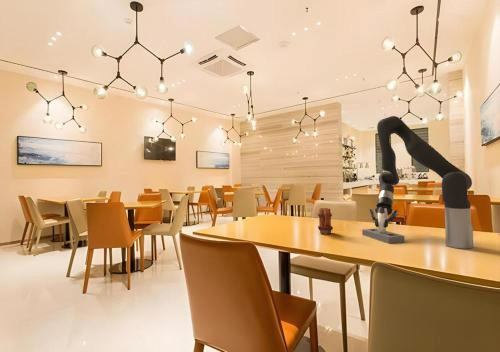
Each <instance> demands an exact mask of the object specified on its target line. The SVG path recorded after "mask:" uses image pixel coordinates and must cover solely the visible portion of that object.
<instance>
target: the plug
mask: <svg viewBox="0 0 500 352" xmlns="http://www.w3.org/2000/svg"><path fill="white" fill-rule="evenodd" d="M385 220H386V218H385V213H383V207H380V213H378V227H377V229H378V233H386V231H387V227H386V228H385V227H384V223H385Z"/></svg>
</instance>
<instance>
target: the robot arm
mask: <svg viewBox="0 0 500 352" xmlns="http://www.w3.org/2000/svg"><path fill="white" fill-rule="evenodd" d="M376 128H377V129H376V130H377V136H378V141H379V145H380V151H381V152H380V153H381V168H382V170H384V171H386V172H382V173H380V174H379V175H378V182H379V187H380V188H379V193H378V197H377V200H376V207H375V208H374V209H372V208H370V209H369V212H370V215H371V218H372V221H374V226H375V227H376V228H378V213H380V207H383V213H385V223H384V227H385V228H386V229H387V228H388V226H389V222H391V223H392V222H394V220H395V219H396V217H397V216H398V214H399V213H398V210H394V209H393V204H394V192H395V188H394V187H395V186H397V185H398V184H399V183H400V177H399V174H398V171H397V164H396V163H397V159H396V158H397V157H396V153H395V151H394V149H393V147H392V146H391V142H390V141H391V139H390V137H391V135H393V134H395V135H397V136H398V137H399V138H400V139H402V141H403V143H404V147H405V150H406V152H407V154H408V155H409V156H410V157H412V158H413V159H414V160H415V161H416V162H417V163H419V164H420V165H422V166H424V167H425V168H427V169H429V170H431V171H432V172H434V173H435V174H437V175H438V176H439V177H440V178H441V179H442V180H441V193H442V196H441V197H442V202H443V204H444V226H445V227H444V228H445V230H444V231H445V232H444V233H445V246H446V247H449V248H454V249H464V250H465V249H466V250H467V249H472V248H473V247H474V226H473V225H472V210H471V209H472V208H471V202H470V200H469V198H468V197H469V196H468V190H470V189H471V187H472V186H473V181H472V178H471V176H470V175H469V174H467V173H466V172H464V171H463V170H461V169H460V168H458V167H457V166H456V165H454V164H453V163H452V162H450V161H448V160H447V159H446V157H444V156H443V155H442V154H441V153H440V152H439V151H438V150H436V149H435V148H434V147H433V146H432V145H430V144H429V143H428V142H427V141H426V140H424V139H422V138H421V137H420V136H419V135H418V134H417V133H416V132H415V131H413V130H412V129H411V128H410V127H409V126H408V125H407V124H406V123H405V122H404V120H402V119H401V118H400V117H398V116H396V115H391V116H387V117H385V118H382V119H380V120H379V121H378V122H377V125H376ZM375 213H376V214H375Z"/></svg>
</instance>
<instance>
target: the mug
mask: <svg viewBox="0 0 500 352" xmlns="http://www.w3.org/2000/svg"><path fill="white" fill-rule="evenodd" d="M317 216H318V220H319V221H318V224H319V225H318V226H317V229H318V230H319V233H320V234H322V235H323V234H325V235H327V234H329V235H330V234H332V231H333V229H334V227H333V226H332V219H331V218H332V216H333V214H332V212H331V209H330V208H328V207H321V208H319V209H318V213H317Z"/></svg>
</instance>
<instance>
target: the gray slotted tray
mask: <svg viewBox="0 0 500 352" xmlns="http://www.w3.org/2000/svg"><path fill="white" fill-rule="evenodd" d="M361 230H362V231H361V233H362V234H361V235H362V236H365V237H368V238H370V239H374V240H377V241H380V242H383V243H387V244H398V243H405V242H406V241H405V240H406V239H405V235H402V234H401V233H400V234H399V233H395V232H391V231H388V230H386V233H378V227H376V228H366V229H365V228H364V229H361Z"/></svg>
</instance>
